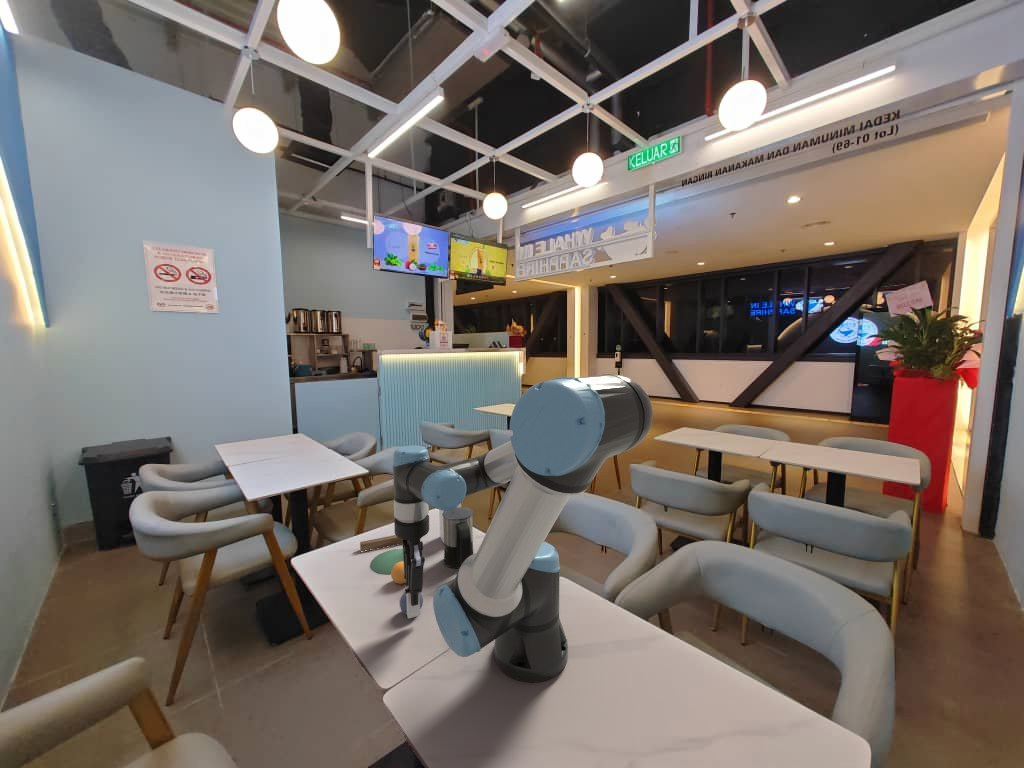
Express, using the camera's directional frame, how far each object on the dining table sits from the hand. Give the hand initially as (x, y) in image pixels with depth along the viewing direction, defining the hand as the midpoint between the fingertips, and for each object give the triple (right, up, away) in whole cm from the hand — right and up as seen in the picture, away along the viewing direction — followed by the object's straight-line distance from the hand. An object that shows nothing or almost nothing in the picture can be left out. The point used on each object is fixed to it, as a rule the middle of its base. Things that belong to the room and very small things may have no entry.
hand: (413, 614), depth 90 cm
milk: (+2, +1, +42) cm, 42 cm away
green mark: (-13, 0, +28) cm, 31 cm away
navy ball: (-2, +1, +4) cm, 5 cm away
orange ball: (-7, +2, +17) cm, 19 cm away
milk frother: (+11, 0, +28) cm, 30 cm away
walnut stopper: (-17, 0, +38) cm, 42 cm away
